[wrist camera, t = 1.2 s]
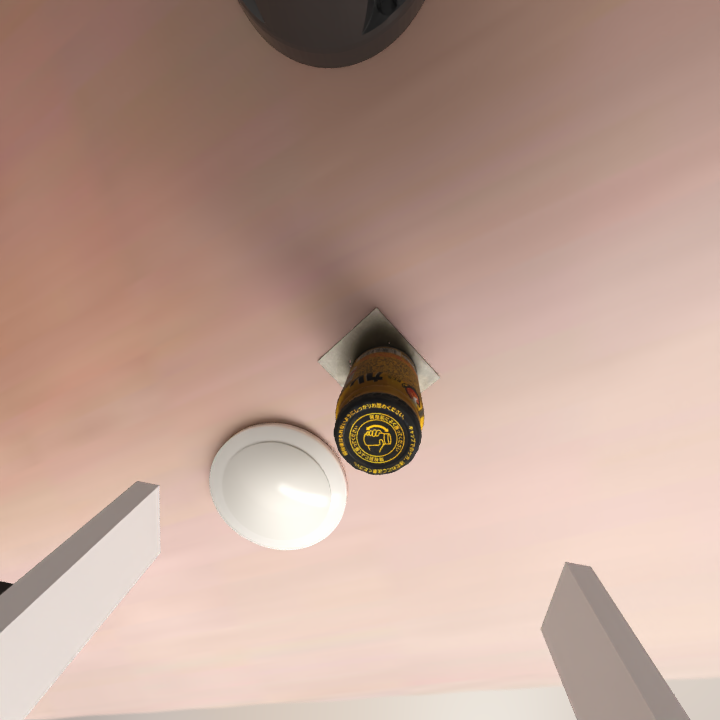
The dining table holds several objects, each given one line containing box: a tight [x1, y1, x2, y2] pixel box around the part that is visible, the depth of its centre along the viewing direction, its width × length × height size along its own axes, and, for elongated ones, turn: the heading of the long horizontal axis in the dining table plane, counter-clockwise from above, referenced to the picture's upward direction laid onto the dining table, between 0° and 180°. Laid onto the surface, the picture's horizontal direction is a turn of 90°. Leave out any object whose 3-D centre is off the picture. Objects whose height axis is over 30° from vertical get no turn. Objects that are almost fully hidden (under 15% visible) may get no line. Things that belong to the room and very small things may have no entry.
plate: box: [209, 423, 348, 550], centre depth 36 cm, size 14×14×1 cm
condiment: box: [318, 308, 440, 475], centre depth 26 cm, size 7×8×12 cm
